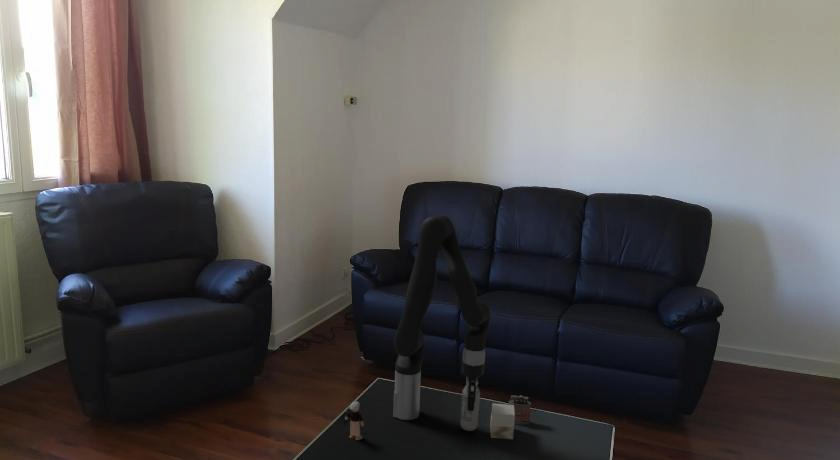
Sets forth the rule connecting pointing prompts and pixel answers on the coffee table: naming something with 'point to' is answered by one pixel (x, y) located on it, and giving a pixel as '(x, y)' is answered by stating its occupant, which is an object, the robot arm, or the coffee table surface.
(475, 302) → the robot arm
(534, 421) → the coffee table surface
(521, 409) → the lighter
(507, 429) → the birch block
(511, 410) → the cream block
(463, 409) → the energy drink can
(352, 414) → the grandmother figurine
